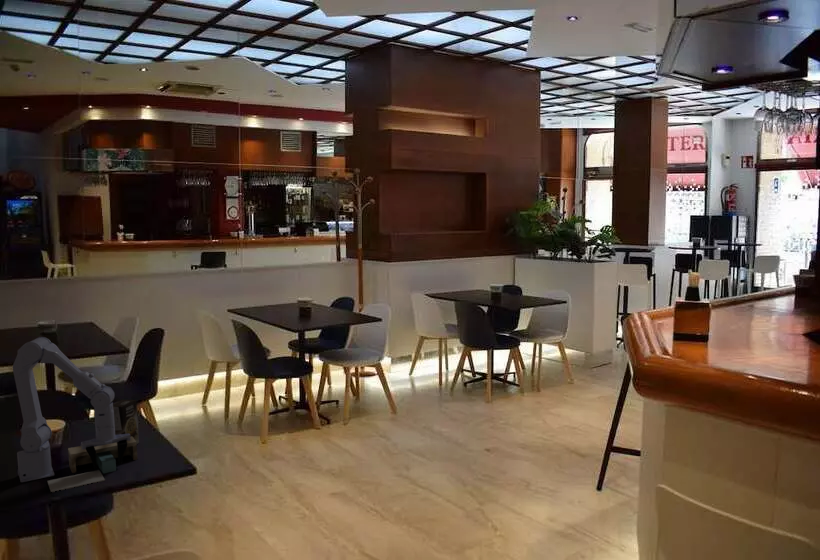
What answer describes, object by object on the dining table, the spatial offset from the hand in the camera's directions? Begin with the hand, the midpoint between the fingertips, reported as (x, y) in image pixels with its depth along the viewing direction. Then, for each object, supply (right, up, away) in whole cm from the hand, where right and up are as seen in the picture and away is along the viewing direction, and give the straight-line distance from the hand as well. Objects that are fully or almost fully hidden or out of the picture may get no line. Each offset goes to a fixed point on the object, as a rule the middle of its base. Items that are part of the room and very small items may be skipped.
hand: (107, 465), depth 223 cm
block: (-2, -1, +4) cm, 4 cm away
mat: (-6, -3, -9) cm, 11 cm away
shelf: (-4, -1, +7) cm, 8 cm away
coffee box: (-4, +1, +22) cm, 23 cm away
